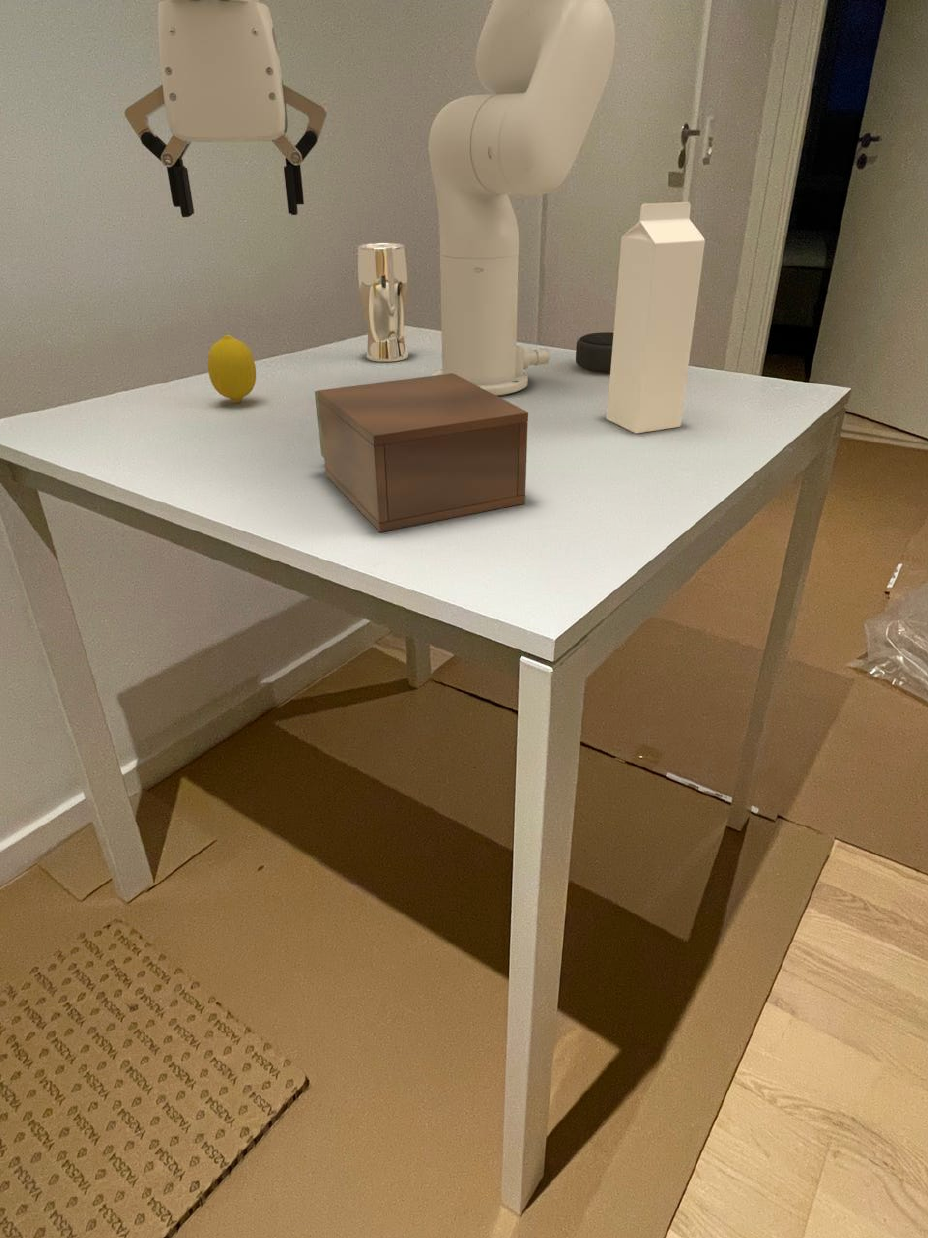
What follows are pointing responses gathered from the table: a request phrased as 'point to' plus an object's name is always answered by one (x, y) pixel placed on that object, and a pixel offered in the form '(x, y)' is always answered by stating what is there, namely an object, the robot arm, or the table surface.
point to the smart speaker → (595, 352)
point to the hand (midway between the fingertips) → (241, 214)
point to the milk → (654, 318)
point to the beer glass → (384, 299)
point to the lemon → (231, 368)
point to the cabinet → (423, 449)
